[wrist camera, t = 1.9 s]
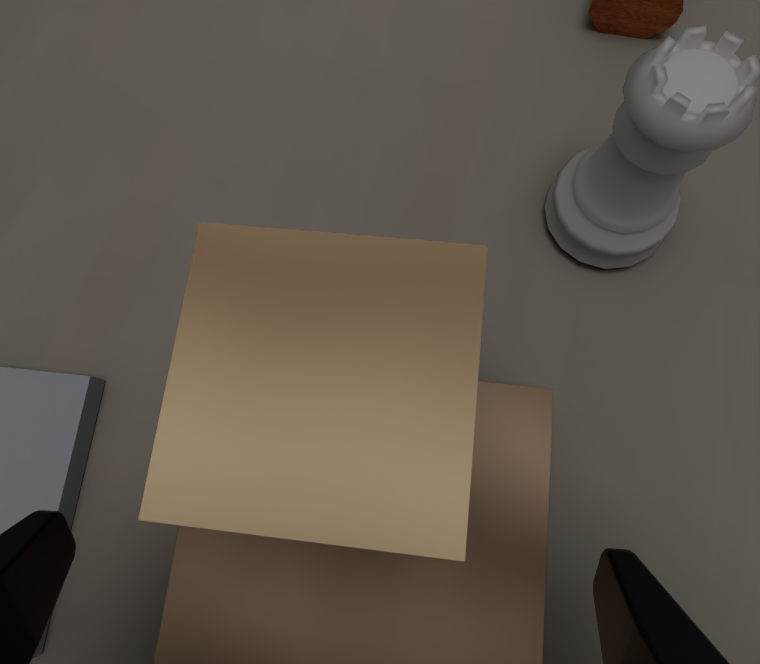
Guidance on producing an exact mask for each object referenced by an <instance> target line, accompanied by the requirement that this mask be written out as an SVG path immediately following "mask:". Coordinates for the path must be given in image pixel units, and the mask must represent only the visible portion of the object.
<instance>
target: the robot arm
mask: <svg viewBox="0 0 760 664" xmlns="http://www.w3.org/2000/svg"><path fill="white" fill-rule="evenodd" d="M75 550H76V545H75V540H74V538H73V535H72V533H71V530H70V528H69V525H68V523H67V520H66V518H65V516H64V514H63V513H61V512H59V511H49V510H38V511H35V512H33V513H31V514H29V515H28V516H26V517H25V518H23V519H22V520H21V521H19V522H18V523H16V524H15V525H13V526H12V527H10V528H9V529H7V530H6V531H4V532H3V533H1V534H0V664H29V663H30V661H31V659H32V657H33V655H34V653H35V651H36V649H37V647H38V645H39V643H40V640H41V638H42V636H43V633H44V631H45V629H46V626H47V624H48V621H49V619H50V616H51V614H52V611H53V609H54V606H55V604H56V601H57V599H58V596H59V594H60V591H61V589H62V586H63V584H64V581H65V579H66V576H67V574H68V571H69V569H70V566H71V564H72V561H73V559H74V556H75ZM593 595H594V602H595V609H596V616H597V623H598V630H599V636H600V643H601V650H602V657H603V664H729V662H728V661H727V660H726V659H725V658H724V657H723V655H722V654H721V653H720V652H719V651H718V650H717V649H716V647H715V646H714V645H713V644H712V643H711V642H710V640H709V639H708V638H707V637H706V636H705V635H704V633H703V632H702V631H701V630H700V629H699V628H698V627H697V625H696V624H695V623H694V622H693V621H692V620H691V618H690V617H689V616H688V615H687V614H686V613H685V612H684V610H683V609H682V608H681V607H680V606H679V605H678V603H677V602H676V601H675V600H674V599H673V598H672V596H671V595H670V594H669V593H668V592H667V591H666V590H665V588H664V587H663V586H662V585H661V584H660V583H659V581H658V580H657V579H656V578H655V577H654V576H653V575H652V573H651V572H650V571H649V570H648V569H647V568H646V566H645V565H644V564H643V563H642V562H641V561H640V559H639V558H638V557H637V556H636V555H635V554H634V553H633V552H631V551H630V550H626V549H612V548H607V549H605V550H604V551H603V552H602V554H601V558H600V561H599V564H598V568H597V571H596V574H595V578H594V582H593Z"/></svg>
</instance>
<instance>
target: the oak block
mask: <svg viewBox="0 0 760 664" xmlns="http://www.w3.org/2000/svg"><path fill="white" fill-rule="evenodd" d="M487 248H488V245H476V244H464V243H452V242H439V241H427V240H415V239H402V238H390V237H378V236H365V235H353V234H341V233H328V232H316V231H304V230H291V229H279V228H267V227H254V226H242V225H229V224H217V223H205V222H200V223H199V228H198V232H197V237H196V242H195V247H194V252H193V257H192V262H191V266H190V271H189V276H188V281H187V286H186V291H185V296H184V300H183V305H182V310H181V315H180V320H179V325H178V330H177V334H176V339H175V344H174V349H173V354H172V359H171V364H170V368H169V373H168V378H167V383H166V388H165V393H164V398H163V402H162V407H161V412H160V417H159V422H158V427H157V432H156V436H155V441H154V446H153V451H152V456H151V461H150V466H149V470H148V475H147V480H146V485H145V490H144V495H143V500H142V504H141V509H140V514H139V519H138V520H142V521H149V522H157V523H165V524H173V525H181V526H189V527H197V528H205V529H212V530H220V531H228V532H236V533H244V534H252V535H260V536H268V537H276V538H283V539H291V540H299V541H307V542H315V543H323V544H331V545H339V546H347V547H354V548H362V549H370V550H378V551H386V552H394V553H402V554H410V555H417V556H425V557H433V558H441V559H449V560H457V561H465V554H466V540H467V526H468V512H469V498H470V484H471V470H472V456H473V442H474V429H475V415H476V401H477V387H478V373H479V359H480V345H481V331H482V317H483V303H484V289H485V276H486V262H487Z"/></svg>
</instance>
